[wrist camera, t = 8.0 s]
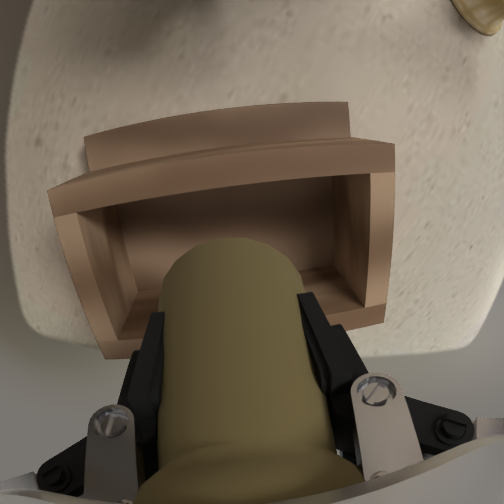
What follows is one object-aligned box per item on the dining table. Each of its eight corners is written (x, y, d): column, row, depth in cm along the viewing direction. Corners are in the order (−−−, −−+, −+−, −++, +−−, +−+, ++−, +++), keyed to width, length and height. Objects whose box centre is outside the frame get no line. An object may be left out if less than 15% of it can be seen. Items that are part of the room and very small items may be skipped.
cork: (268, 208, 11) (446, 562, 1) (324, 327, 14) (427, 561, 3) (130, 280, 12) (28, 569, 2) (207, 378, 14) (213, 608, 4)
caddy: (92, 135, 19) (38, 144, 12) (339, 103, 20) (391, 96, 13) (131, 305, 25) (108, 365, 18) (344, 276, 26) (382, 328, 19)
